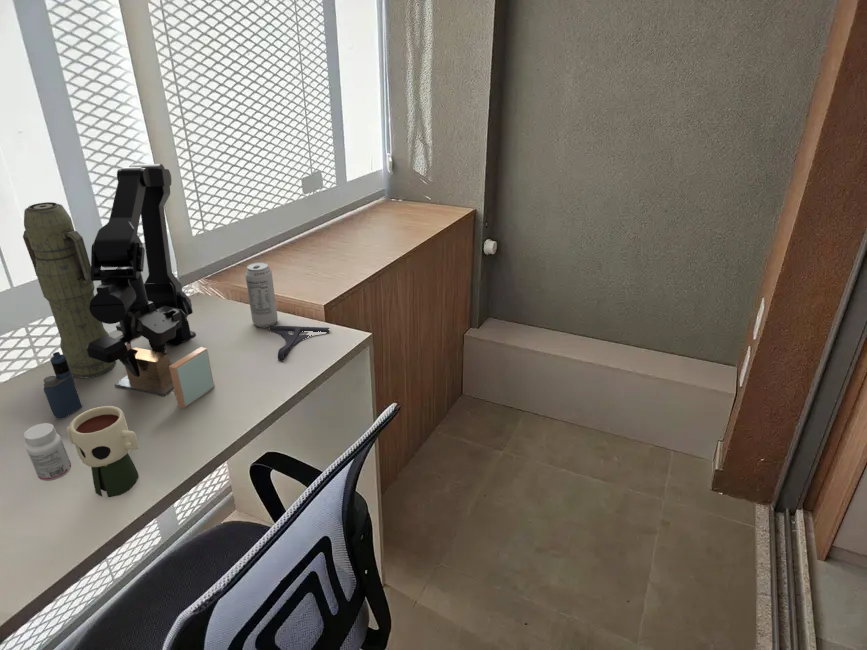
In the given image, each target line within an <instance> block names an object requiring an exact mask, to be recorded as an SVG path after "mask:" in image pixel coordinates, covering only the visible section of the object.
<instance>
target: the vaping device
mask: <svg viewBox="0 0 867 650" xmlns="http://www.w3.org/2000/svg"><path fill="white" fill-rule="evenodd" d="M52 355H53V356H52V357H51V358H50V363H51V366H52V369H53V371H54V374H55V375H50V376H49V375H48V376H46V377H45V378H44V379H43V391H44V394H45V397H46V400H47V403H48V405H49V408H50V411H51V413H52V415H53V416H54V417H55V418H56V419H58V420H63V418H64V419H65V418H68V417H69V416H71V415H72V414H74V413H75V412H76V411H78V410H80V409H81V408H82V407H83V404H82V402H81V399H80V396H79V394H78V389H77V387H76V383H75V380H74V378H73V377H74V376H72V374H71V372H70V369H69V366H68V363H67V360H66V357H65V355H63V354H61V353H60V352H59V351H56V352H55V351H54V352H53V353H52ZM73 412H74V413H73ZM70 414H71V415H70ZM68 415H69V416H68ZM67 416H68V417H67Z"/></svg>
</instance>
